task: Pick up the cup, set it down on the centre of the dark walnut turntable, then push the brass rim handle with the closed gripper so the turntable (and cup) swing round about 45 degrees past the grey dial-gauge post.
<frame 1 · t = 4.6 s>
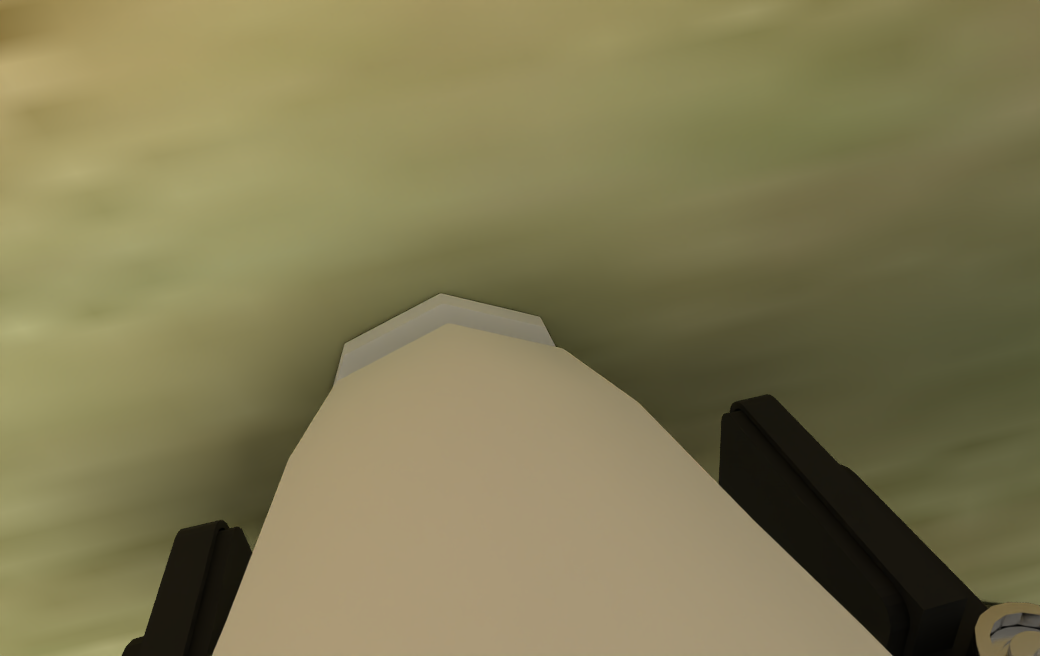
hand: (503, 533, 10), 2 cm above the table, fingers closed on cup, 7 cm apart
cup: (515, 442, 12), on the table, touching gripper
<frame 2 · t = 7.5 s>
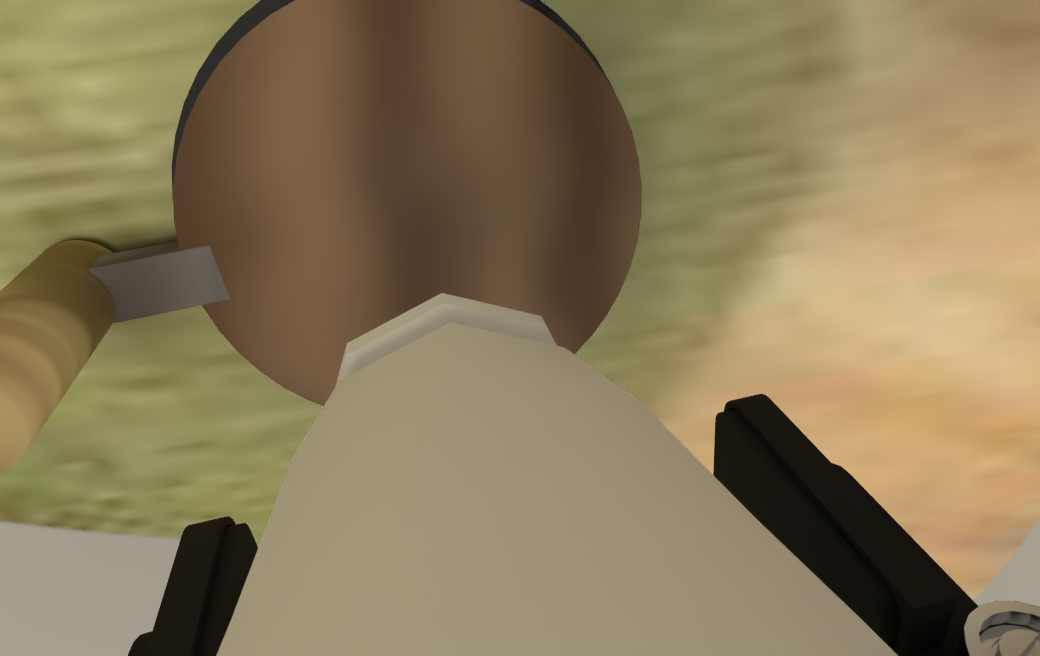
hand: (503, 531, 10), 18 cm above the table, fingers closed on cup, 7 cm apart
cup: (517, 441, 12), point 15 cm above the table, touching gripper
turntable: (345, 275, 21), point 5 cm above the table, hinge at 0.0°
turntable base: (418, 209, 26), on the table
when the fingers open (5 cm above the table, at t = 10.0 s): cup moves 1 cm, resting on turntable.
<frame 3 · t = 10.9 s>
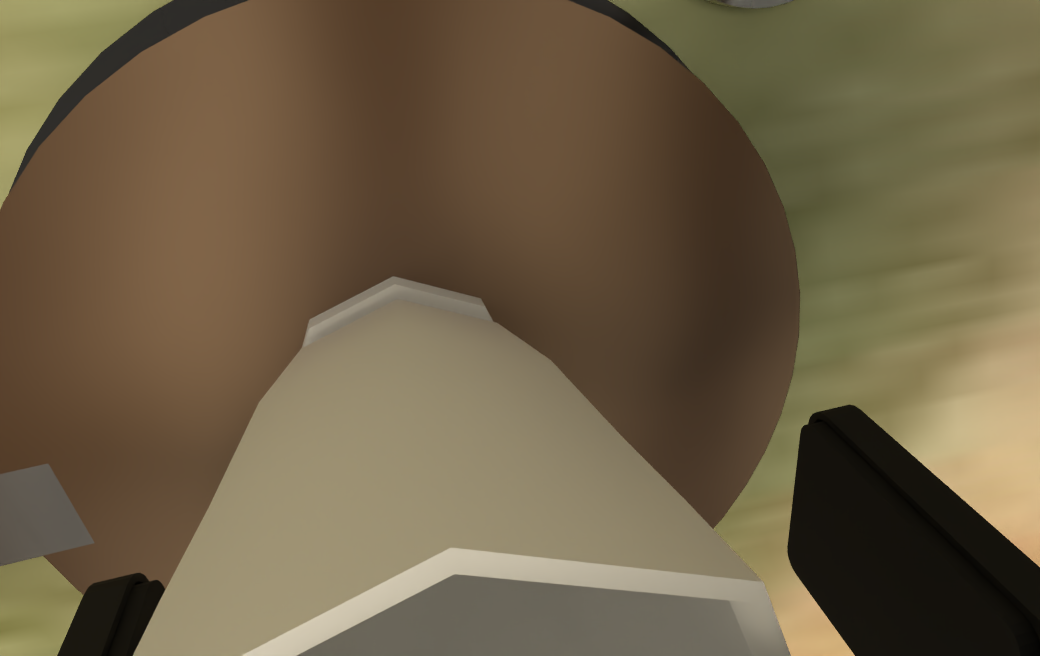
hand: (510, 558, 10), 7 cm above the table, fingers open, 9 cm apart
cup: (461, 411, 14), point 2 cm above the table, touching gripper, turntable
turntable: (295, 542, 11), point 5 cm above the table, hinge at 0.0°, touching cup
turntable base: (427, 358, 16), on the table
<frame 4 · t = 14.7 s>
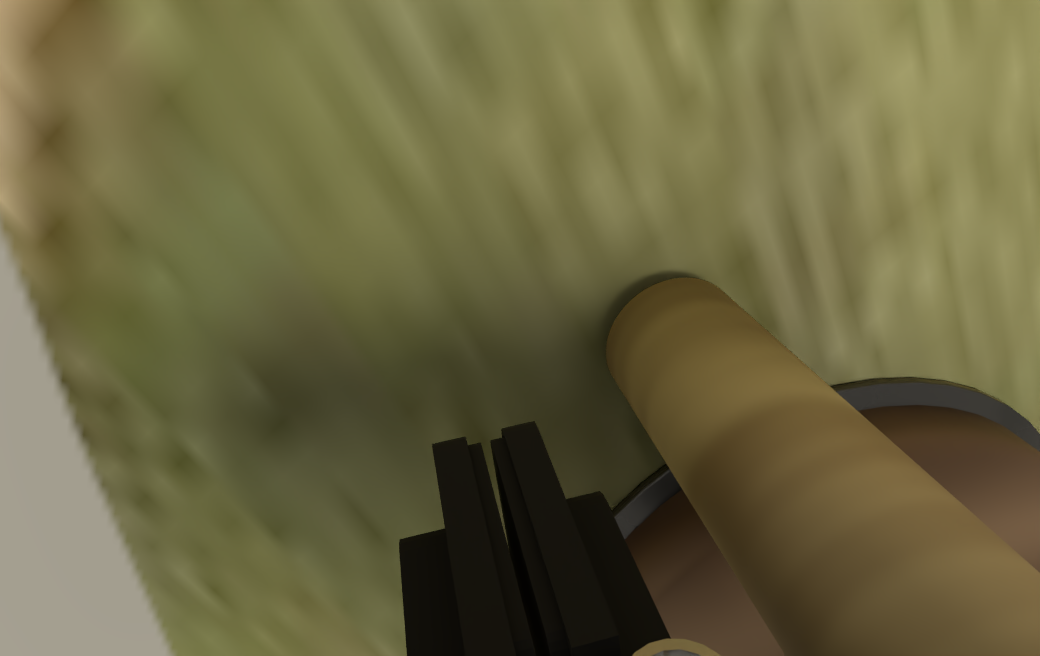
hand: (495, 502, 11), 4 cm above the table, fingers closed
turntable base: (802, 610, 21), on the table
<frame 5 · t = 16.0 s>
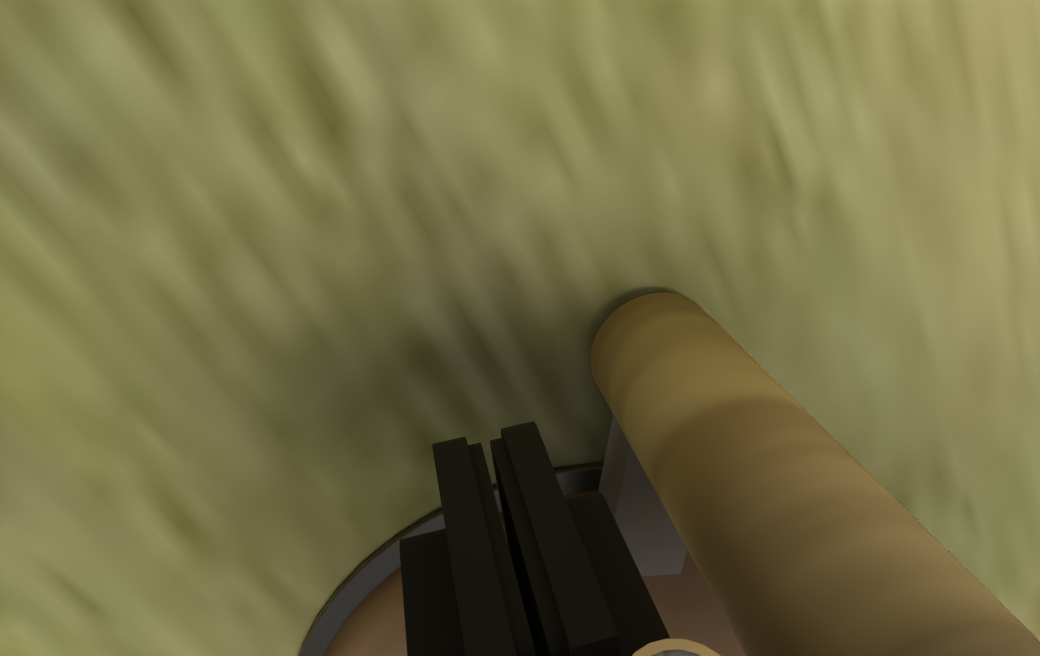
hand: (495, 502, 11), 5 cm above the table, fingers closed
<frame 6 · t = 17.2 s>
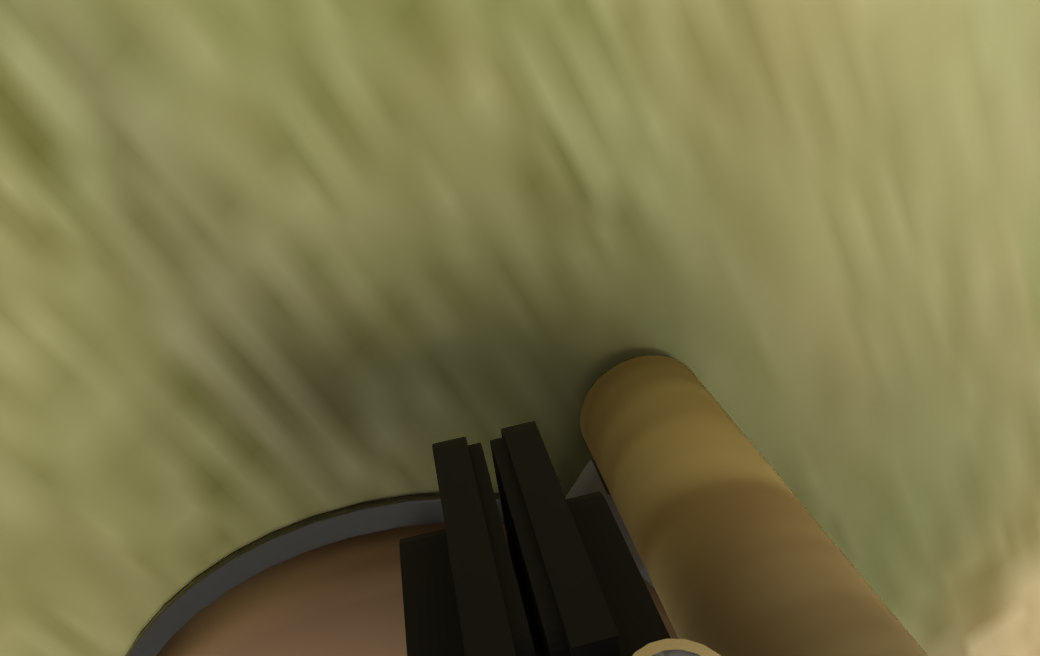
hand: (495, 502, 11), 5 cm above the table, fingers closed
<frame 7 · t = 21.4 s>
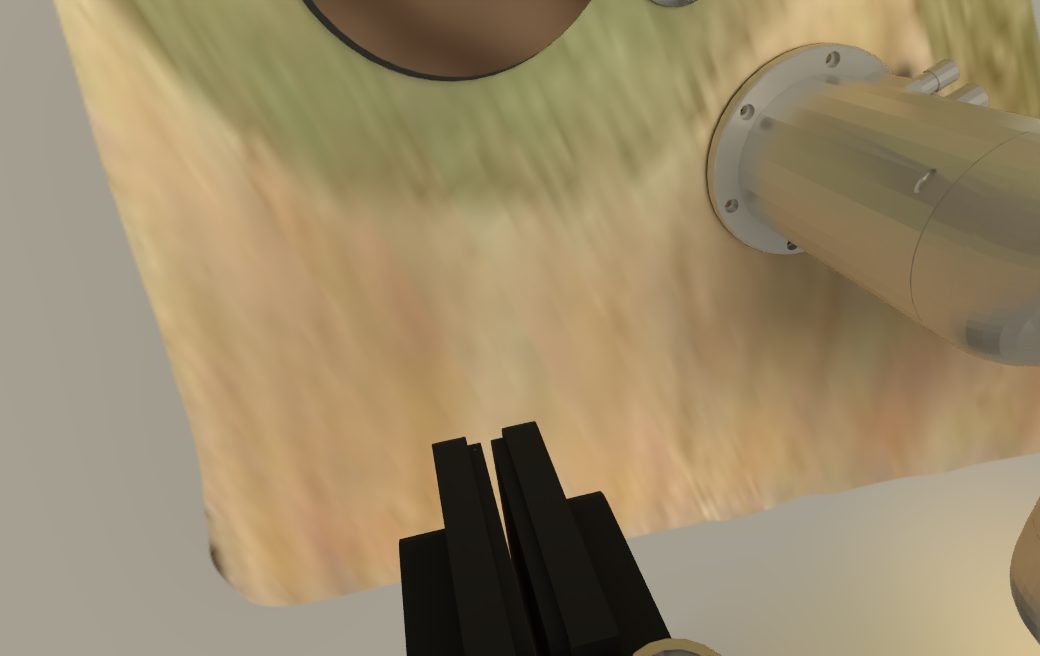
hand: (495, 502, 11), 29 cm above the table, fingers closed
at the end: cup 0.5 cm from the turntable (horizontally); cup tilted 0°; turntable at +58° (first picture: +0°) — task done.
